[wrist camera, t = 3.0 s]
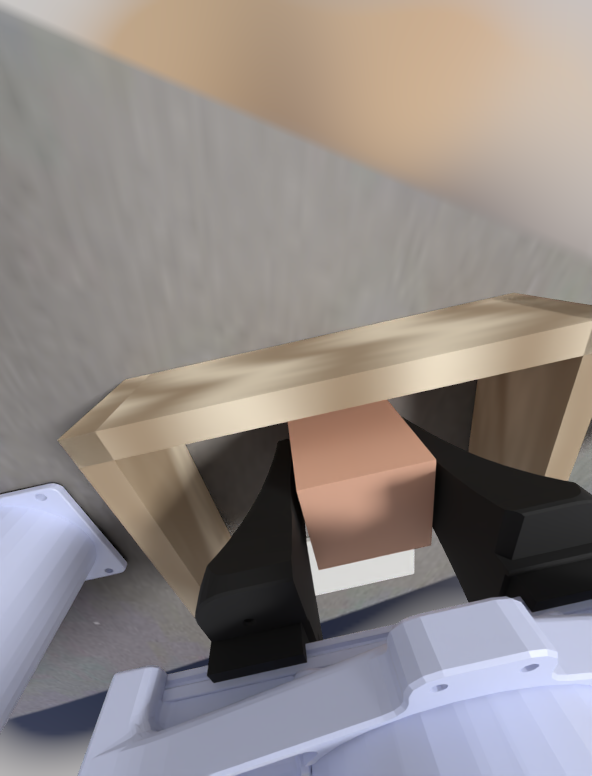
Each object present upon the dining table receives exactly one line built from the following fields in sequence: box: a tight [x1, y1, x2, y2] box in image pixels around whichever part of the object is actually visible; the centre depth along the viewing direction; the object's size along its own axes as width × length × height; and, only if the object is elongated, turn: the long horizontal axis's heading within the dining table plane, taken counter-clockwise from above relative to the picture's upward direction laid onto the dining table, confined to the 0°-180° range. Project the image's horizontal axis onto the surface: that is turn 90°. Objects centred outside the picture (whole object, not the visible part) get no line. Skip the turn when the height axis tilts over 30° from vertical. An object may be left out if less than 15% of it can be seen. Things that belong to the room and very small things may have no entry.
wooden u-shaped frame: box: [58, 293, 592, 618], centre depth 13 cm, size 18×13×4 cm
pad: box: [306, 537, 414, 596], centre depth 20 cm, size 9×7×1 cm
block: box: [288, 400, 436, 570], centre depth 12 cm, size 4×4×6 cm
